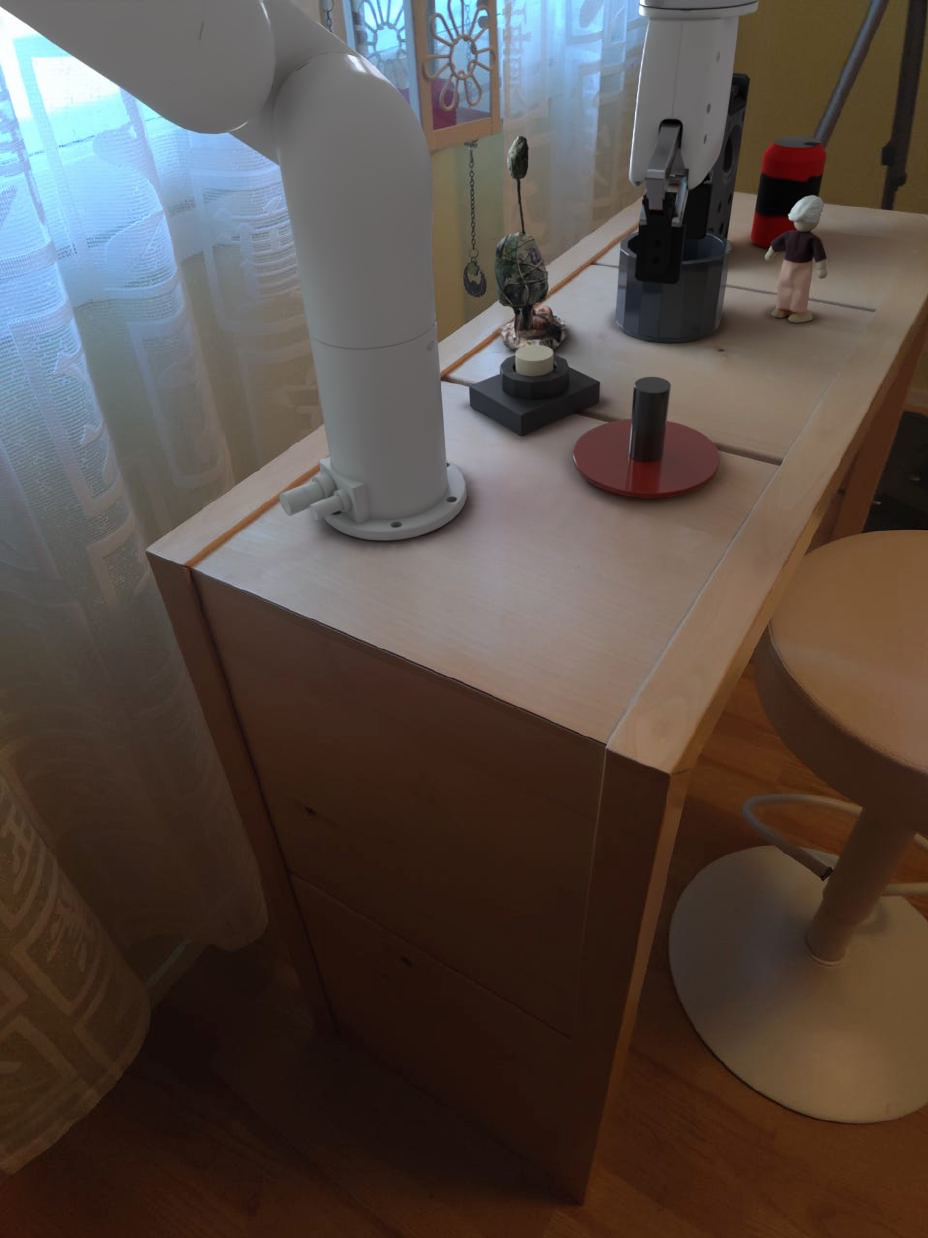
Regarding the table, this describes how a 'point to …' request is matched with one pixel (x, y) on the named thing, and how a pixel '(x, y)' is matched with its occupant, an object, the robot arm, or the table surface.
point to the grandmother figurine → (799, 260)
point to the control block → (533, 395)
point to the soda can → (786, 184)
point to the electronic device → (728, 157)
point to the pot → (674, 293)
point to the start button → (534, 360)
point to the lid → (647, 449)
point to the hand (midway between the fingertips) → (672, 257)
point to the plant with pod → (524, 276)
